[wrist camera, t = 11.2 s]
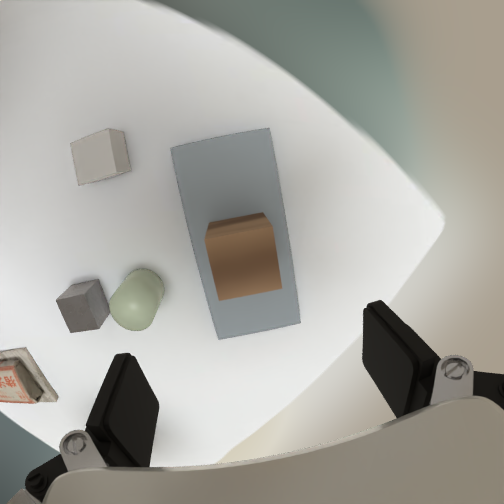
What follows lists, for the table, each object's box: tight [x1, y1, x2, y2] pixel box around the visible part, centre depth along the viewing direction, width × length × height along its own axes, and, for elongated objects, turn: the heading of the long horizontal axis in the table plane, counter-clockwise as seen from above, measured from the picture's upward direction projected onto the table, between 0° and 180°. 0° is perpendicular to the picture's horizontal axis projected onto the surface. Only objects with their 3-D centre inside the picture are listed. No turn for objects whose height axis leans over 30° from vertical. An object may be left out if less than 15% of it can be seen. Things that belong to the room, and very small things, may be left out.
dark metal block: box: [56, 279, 110, 333], centre depth 27 cm, size 4×4×4 cm
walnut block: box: [204, 212, 282, 301], centre depth 25 cm, size 5×5×6 cm
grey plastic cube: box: [70, 128, 131, 186], centre depth 23 cm, size 4×4×4 cm
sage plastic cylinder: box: [109, 269, 164, 331], centre depth 27 cm, size 4×4×5 cm
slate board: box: [170, 128, 301, 340], centre depth 28 cm, size 20×9×1 cm, turn 11°
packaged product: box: [0, 348, 58, 404], centre depth 30 cm, size 18×5×10 cm
